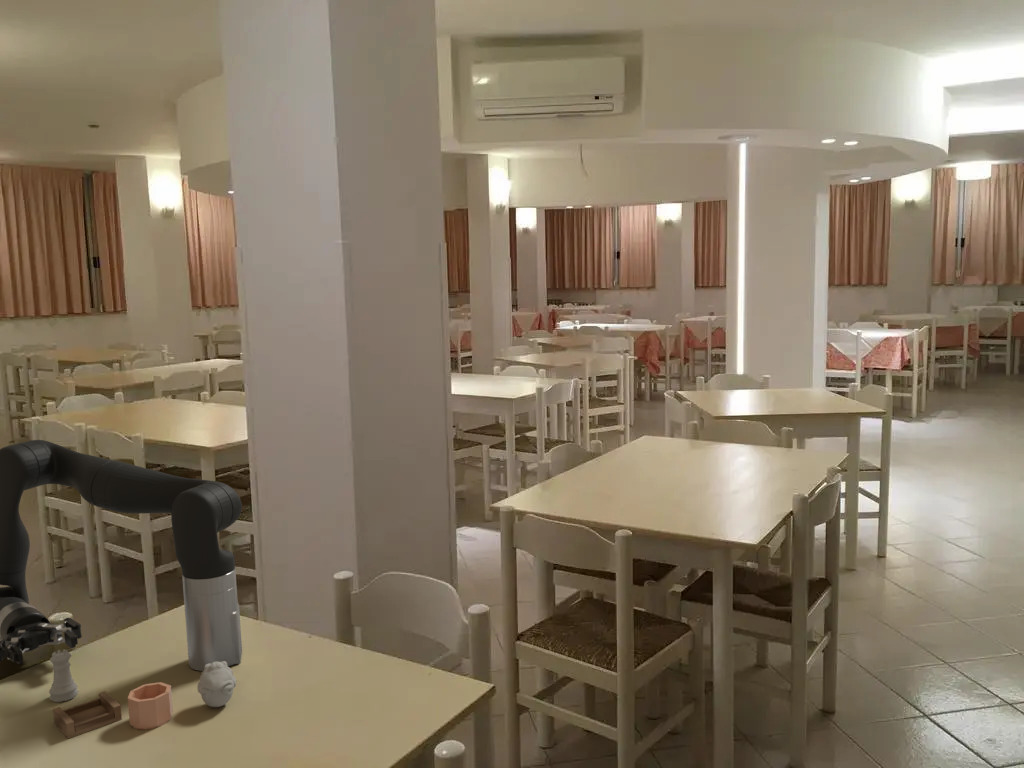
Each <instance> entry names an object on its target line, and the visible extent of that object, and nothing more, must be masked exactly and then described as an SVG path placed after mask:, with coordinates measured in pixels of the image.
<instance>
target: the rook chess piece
mask: <svg viewBox="0 0 1024 768" xmlns="http://www.w3.org/2000/svg"><path fill="white" fill-rule="evenodd" d="M71 657H72V655H71V654H70V652H69V649H66V648H65V649H62V651H61V649H57V650H56V651H53V652H52V653H51V657H50V659H49V661H50V662H51V664H52V667H51V669H52V670H53V680H52V685H51V687H50V689H49V692H48V693H49V697H48V698H49V700H50V701H52V702H53V703H64V702H63V701H65V702H68V701H71V700H73V699H74V698H76V697H77V695H78V693H79V690H78V688H79V687H78V684H77V683H76V682H75V680H74V678H73V677H72V674H71V669H70V666H71V662H70V661H69V660H70V658H71ZM72 698H73V699H72ZM70 699H71V700H70ZM67 700H68V701H67Z"/></svg>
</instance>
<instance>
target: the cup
mask: <svg viewBox="0 0 1024 768" xmlns="http://www.w3.org/2000/svg"><path fill="white" fill-rule="evenodd" d="M127 705H128V706H127V707H128V717H129V718H128V719H129V725H130V726H131V727H132V726H133V727H132V728H133V729H136V730H151V729H156V728H159V727H161V726H163V725H165V724H167V723H168V722H170V721H171V719H172V718H173V712H174V706H173V694H172V685H171V684H168V683H164V682H160V681H158V682H154V683H144V684H143V685H140V686H138V687H136V688H134V689H132V690H130V691H129V694H128V696H127Z"/></svg>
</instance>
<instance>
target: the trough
mask: <svg viewBox="0 0 1024 768" xmlns="http://www.w3.org/2000/svg"><path fill="white" fill-rule="evenodd" d="M52 714H53V723H54V725H56V727H58V729H59V730H60V731H61V732H62V733H63V735H64V736H66V738H67V739H71V738H74V737H77V736H80V735H82V734H85V733H88V732H91V731H93V730H95V729H99V728H102V727H105V726H107V725H110V724H113V723H115V722H118V721H121V720H122V718H123V717H122V706H121V704H120V703H119V702H118V701H117V700H115V698H113V697H112V696H111V695H110V694H109V693H108V692H106V691H102V692H98V698H95V699H92V700H89V701H86V702H83V703H81V704H78V705H74V706H71V707H69V708H66V709H63V708H61V706H57V707H54V708H52Z"/></svg>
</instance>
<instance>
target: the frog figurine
mask: <svg viewBox="0 0 1024 768" xmlns="http://www.w3.org/2000/svg"><path fill="white" fill-rule="evenodd" d="M236 685H237V680H236V677H235V676H234V671H233V670H232V669H231V668H230V666H227V662H226V661H222V662H218V661H216V662H213V663H211V664H210V663H209V664H206V665H205V667H204V671H201V675H200V676H199V682H198V683H197V692H198V693H199V694H200V696H201V699H202V701H203V703H205V705H207V706H209V707H210V708H220V707H223V706H224V705H226V704H227V703H228V702H229V701H230V700H231V698H232V696H233V693H234V689H235V687H236Z"/></svg>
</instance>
